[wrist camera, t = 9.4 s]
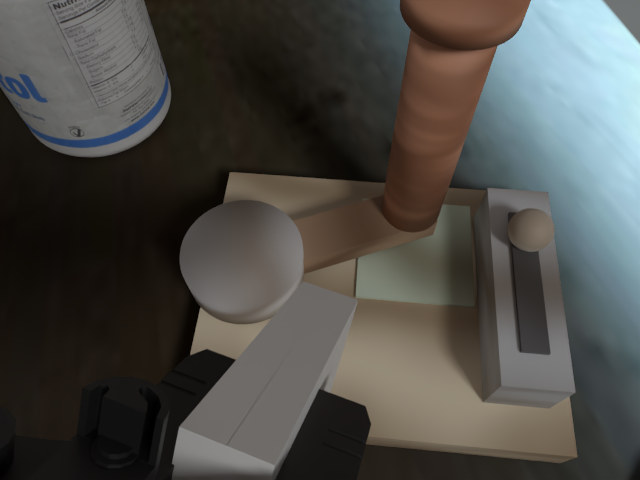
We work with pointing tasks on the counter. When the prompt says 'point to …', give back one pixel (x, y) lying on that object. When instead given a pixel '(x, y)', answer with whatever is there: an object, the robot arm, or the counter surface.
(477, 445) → the stand
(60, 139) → the supplement tub
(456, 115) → the lever
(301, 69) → the counter surface
